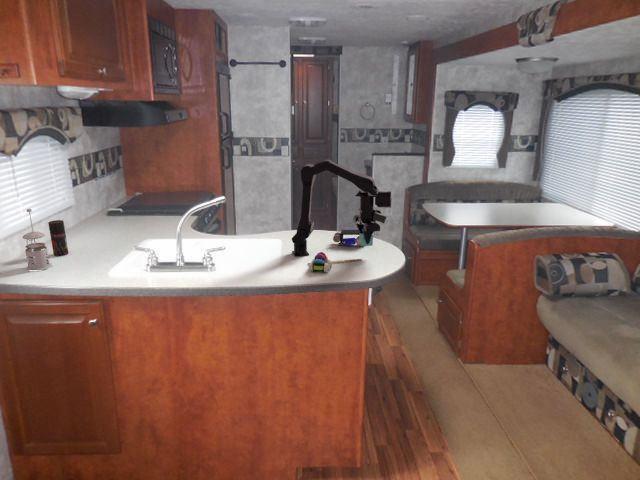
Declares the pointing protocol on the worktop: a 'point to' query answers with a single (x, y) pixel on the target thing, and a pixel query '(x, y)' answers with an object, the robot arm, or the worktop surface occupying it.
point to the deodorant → (58, 238)
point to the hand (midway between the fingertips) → (365, 242)
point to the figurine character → (347, 241)
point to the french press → (36, 251)
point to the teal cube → (363, 242)
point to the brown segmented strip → (345, 261)
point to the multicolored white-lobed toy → (320, 263)
